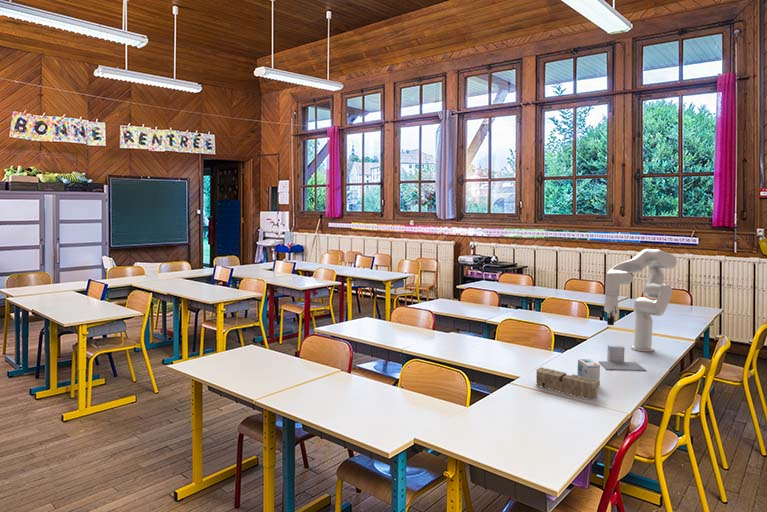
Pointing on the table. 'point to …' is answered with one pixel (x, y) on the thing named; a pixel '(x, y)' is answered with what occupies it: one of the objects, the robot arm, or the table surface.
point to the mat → (621, 365)
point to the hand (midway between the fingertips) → (610, 324)
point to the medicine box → (615, 353)
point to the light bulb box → (588, 369)
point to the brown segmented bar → (567, 383)
